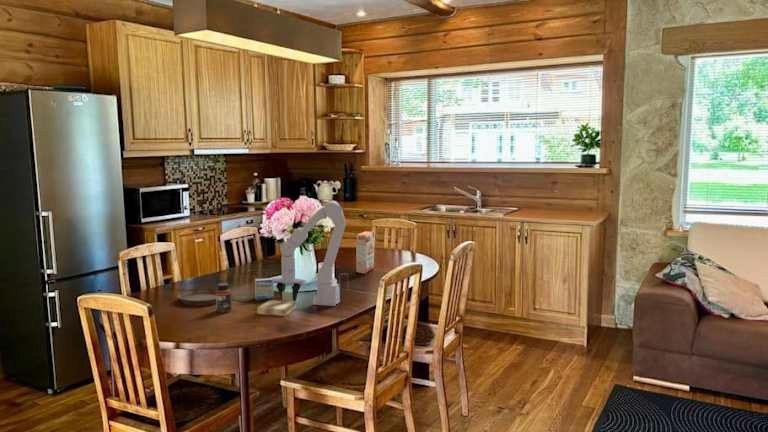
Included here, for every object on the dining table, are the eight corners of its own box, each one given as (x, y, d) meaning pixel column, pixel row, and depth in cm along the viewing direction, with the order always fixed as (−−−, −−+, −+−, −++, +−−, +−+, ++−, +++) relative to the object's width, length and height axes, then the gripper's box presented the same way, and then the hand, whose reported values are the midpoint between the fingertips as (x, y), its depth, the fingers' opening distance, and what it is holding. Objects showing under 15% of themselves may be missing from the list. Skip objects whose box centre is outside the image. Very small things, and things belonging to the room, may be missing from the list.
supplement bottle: (225, 308, 243) (225, 281, 241) (234, 310, 239) (233, 283, 238) (213, 311, 238) (212, 284, 237) (222, 314, 234) (221, 286, 233)
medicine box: (255, 300, 255) (255, 280, 254) (255, 297, 259) (254, 278, 258) (273, 298, 257) (273, 279, 256) (273, 296, 261) (272, 277, 260)
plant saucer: (237, 298, 258) (236, 291, 258) (200, 310, 241) (200, 302, 240) (204, 292, 269) (204, 285, 268) (167, 303, 251) (167, 295, 251)
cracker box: (366, 274, 303) (366, 235, 301) (355, 274, 305) (355, 234, 302) (374, 269, 317) (374, 231, 314) (364, 268, 318) (364, 230, 316)
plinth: (296, 307, 244) (295, 301, 243) (285, 315, 232) (285, 309, 232) (269, 305, 246) (269, 299, 246) (257, 313, 235) (257, 307, 234)
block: (296, 302, 251) (295, 290, 251) (292, 305, 247) (291, 292, 246) (286, 301, 252) (285, 289, 251) (282, 304, 248) (281, 292, 247)
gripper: (307, 268, 250) (308, 298, 252) (276, 266, 253) (276, 297, 255) (302, 271, 243) (302, 303, 245) (269, 270, 246) (270, 301, 248)
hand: (289, 300), depth 249 cm, fingers closed on block, 4 cm apart
